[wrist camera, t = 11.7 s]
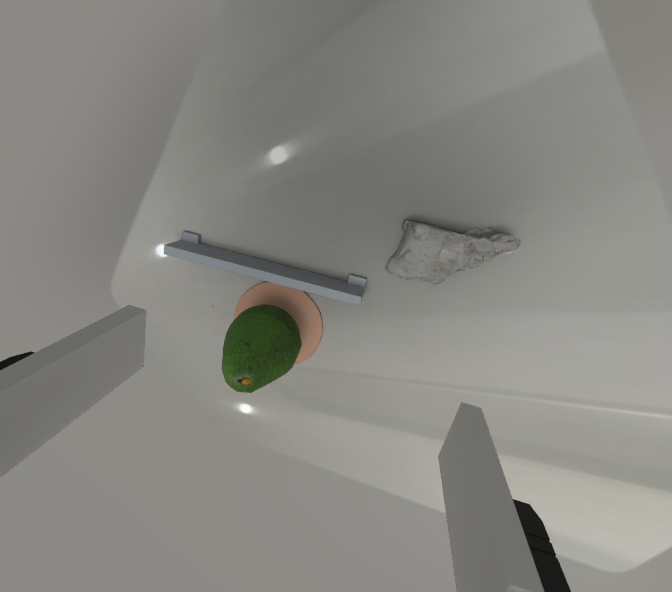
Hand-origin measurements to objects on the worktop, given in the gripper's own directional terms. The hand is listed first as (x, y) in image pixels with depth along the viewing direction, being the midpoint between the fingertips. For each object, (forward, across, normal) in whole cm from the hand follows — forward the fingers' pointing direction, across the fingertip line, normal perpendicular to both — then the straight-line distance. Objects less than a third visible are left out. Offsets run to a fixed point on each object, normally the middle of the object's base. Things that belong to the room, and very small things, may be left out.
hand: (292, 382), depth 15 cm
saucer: (+27, -7, -12) cm, 31 cm away
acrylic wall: (+28, -9, -5) cm, 29 cm away
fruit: (+27, -7, -12) cm, 30 cm away
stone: (+28, +9, +2) cm, 30 cm away
